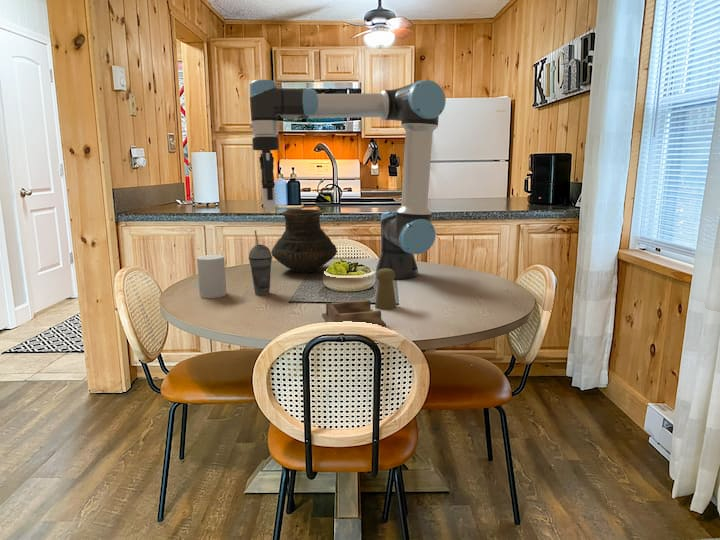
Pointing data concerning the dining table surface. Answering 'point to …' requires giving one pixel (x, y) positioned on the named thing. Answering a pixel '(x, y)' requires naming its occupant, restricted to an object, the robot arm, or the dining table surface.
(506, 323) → the dining table surface
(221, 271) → the grey cylinder
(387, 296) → the olive tall piece
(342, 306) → the brown wooden tray
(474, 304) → the dining table surface
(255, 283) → the beverage cup
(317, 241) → the ceramic pot
